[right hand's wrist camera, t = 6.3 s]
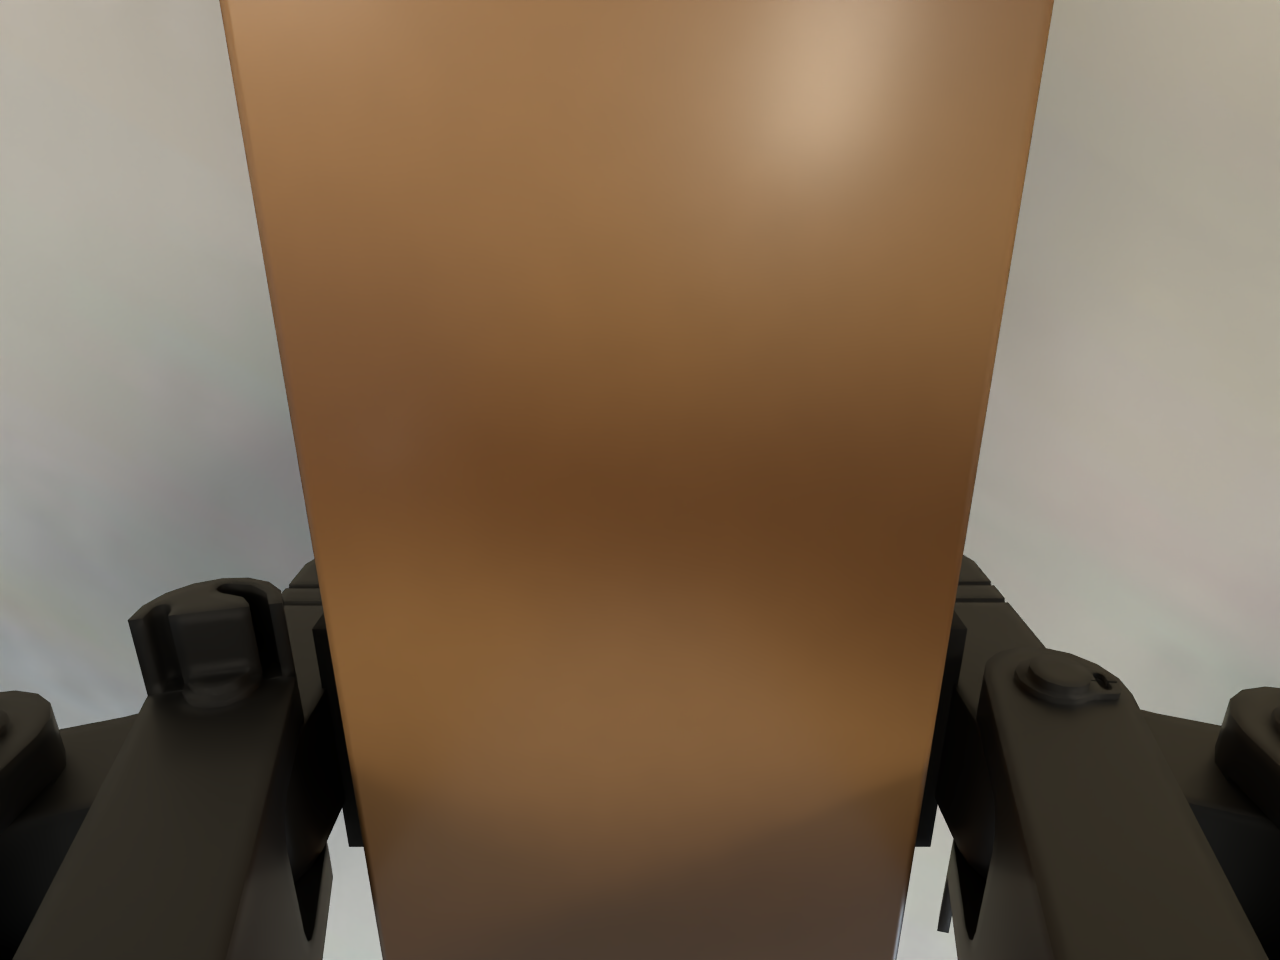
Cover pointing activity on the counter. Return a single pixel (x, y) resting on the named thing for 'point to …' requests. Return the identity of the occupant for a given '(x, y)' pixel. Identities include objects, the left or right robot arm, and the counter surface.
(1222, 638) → the counter surface
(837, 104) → the beam
